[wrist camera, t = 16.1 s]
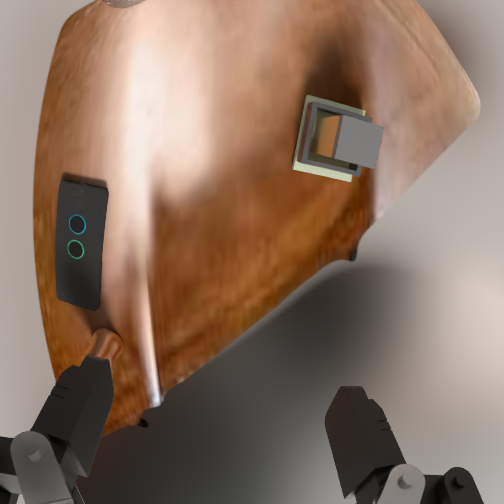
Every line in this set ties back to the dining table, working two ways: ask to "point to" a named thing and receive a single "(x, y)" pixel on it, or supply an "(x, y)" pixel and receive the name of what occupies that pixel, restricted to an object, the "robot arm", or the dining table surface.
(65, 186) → the smart home device
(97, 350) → the beer glass
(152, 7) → the dining table surface
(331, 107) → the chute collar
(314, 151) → the chute block
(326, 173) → the cream flat slab
